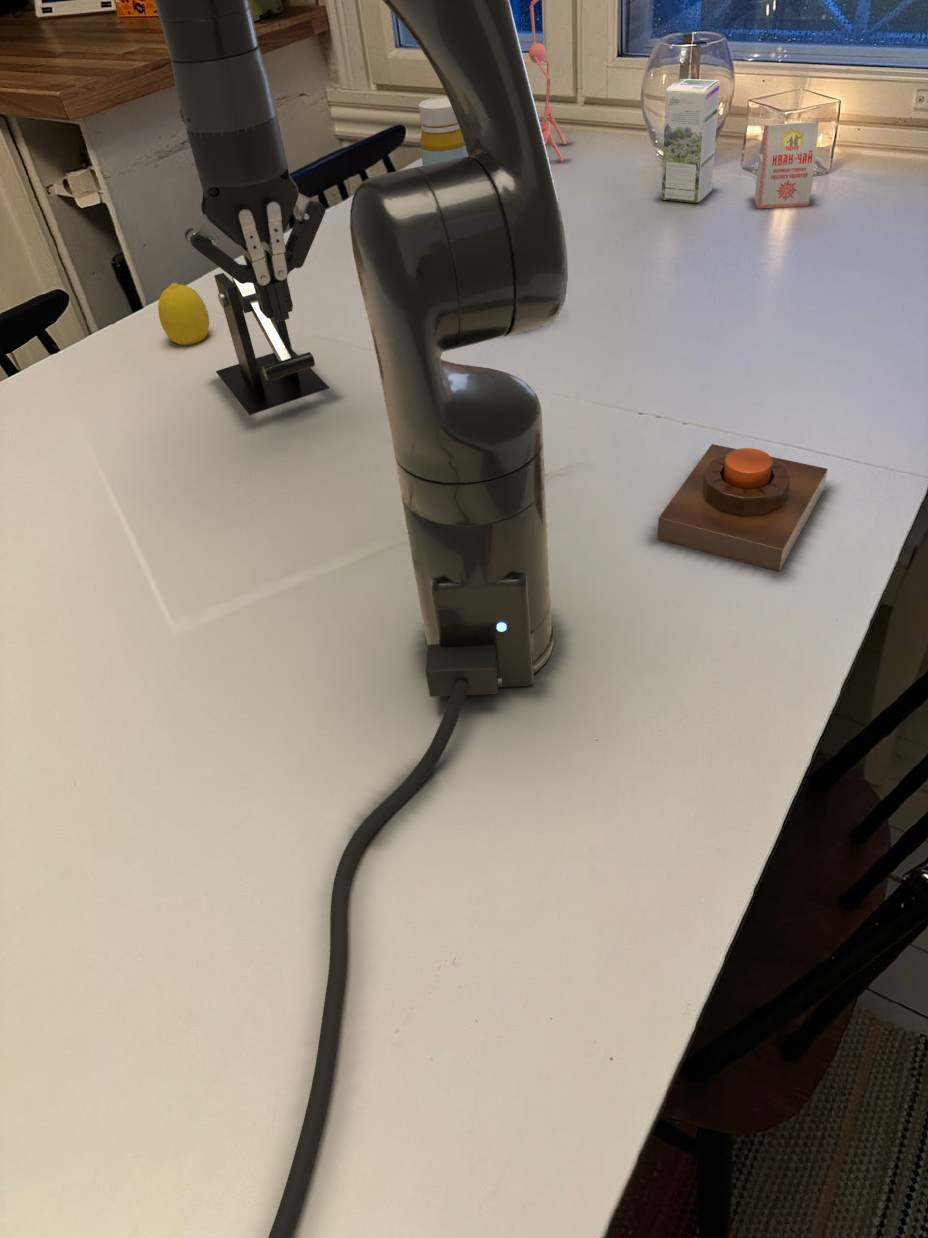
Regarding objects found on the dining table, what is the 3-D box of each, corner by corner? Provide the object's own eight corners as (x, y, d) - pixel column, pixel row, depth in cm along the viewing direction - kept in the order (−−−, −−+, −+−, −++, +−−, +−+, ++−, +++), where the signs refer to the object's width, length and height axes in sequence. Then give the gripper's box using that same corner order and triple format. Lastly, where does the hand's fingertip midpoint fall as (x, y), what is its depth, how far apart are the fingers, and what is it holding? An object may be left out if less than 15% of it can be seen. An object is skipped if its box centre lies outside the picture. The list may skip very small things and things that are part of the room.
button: (761, 495, 73) (763, 476, 72) (716, 484, 74) (718, 466, 73) (775, 471, 75) (778, 453, 74) (732, 462, 77) (734, 443, 75)
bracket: (332, 398, 99) (306, 280, 90) (252, 425, 96) (219, 307, 88) (292, 357, 107) (266, 246, 98) (218, 381, 104) (184, 269, 96)
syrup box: (713, 190, 134) (722, 77, 124) (697, 204, 130) (705, 89, 121) (675, 187, 136) (681, 76, 127) (659, 200, 133) (664, 87, 123)
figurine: (572, 129, 163) (569, -124, 140) (565, 177, 144) (560, -106, 121) (486, 135, 165) (468, -113, 142) (468, 183, 147) (444, -94, 123)
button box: (778, 572, 71) (786, 530, 69) (656, 539, 76) (659, 499, 73) (823, 490, 79) (831, 449, 76) (709, 464, 83) (713, 425, 80)
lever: (315, 372, 93) (315, 356, 91) (268, 387, 91) (267, 371, 89) (266, 283, 96) (265, 266, 94) (221, 297, 95) (218, 280, 93)
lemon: (161, 355, 111) (139, 290, 105) (191, 335, 114) (171, 271, 109) (196, 361, 109) (176, 295, 103) (226, 341, 112) (207, 276, 107)
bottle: (422, 223, 136) (408, 109, 125) (437, 205, 140) (425, 95, 130) (468, 223, 134) (457, 108, 124) (481, 206, 138) (472, 94, 128)
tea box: (754, 199, 130) (762, 121, 123) (804, 196, 129) (815, 117, 122) (757, 208, 127) (766, 129, 120) (808, 205, 126) (820, 125, 119)
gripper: (163, 142, 71) (224, 353, 83) (321, 105, 75) (358, 311, 87) (140, 125, 76) (200, 325, 88) (289, 91, 80) (328, 287, 92)
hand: (279, 318), depth 87 cm, fingers closed
